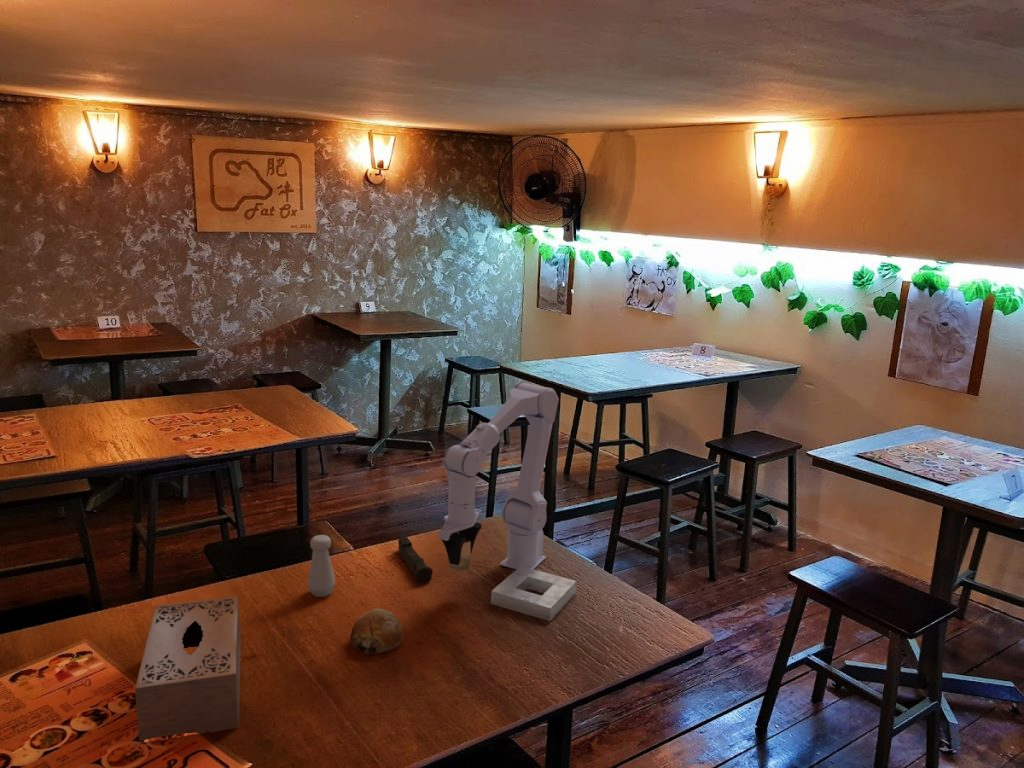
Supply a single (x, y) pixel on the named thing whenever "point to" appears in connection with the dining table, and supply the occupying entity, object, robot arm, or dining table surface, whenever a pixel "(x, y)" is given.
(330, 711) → the dining table surface
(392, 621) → the bread roll
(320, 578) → the salt shaker
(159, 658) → the tissue box cover
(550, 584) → the square stone frame
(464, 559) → the cylinder
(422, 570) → the hand tool
